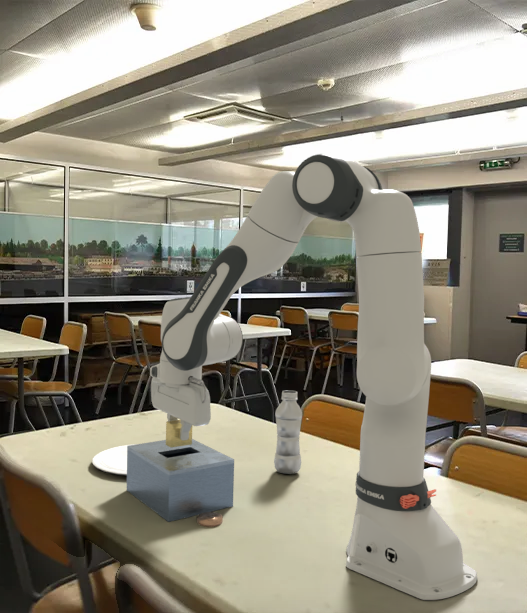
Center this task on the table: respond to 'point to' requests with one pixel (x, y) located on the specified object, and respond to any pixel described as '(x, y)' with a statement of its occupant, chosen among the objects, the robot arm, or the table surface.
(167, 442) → the brushed brass bar
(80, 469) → the table surface
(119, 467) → the plate
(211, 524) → the copper token
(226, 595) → the table surface
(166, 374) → the robot arm
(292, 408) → the plastic bottle
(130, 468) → the coin box
